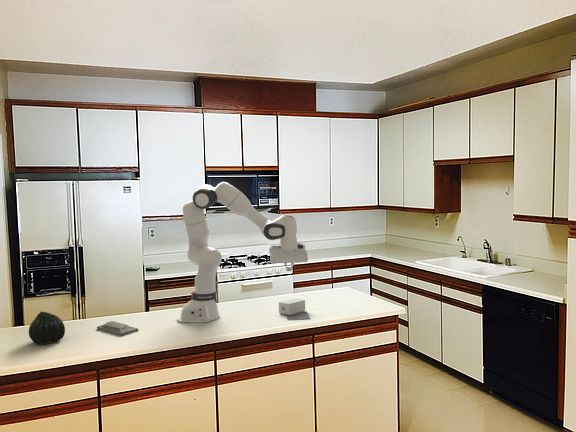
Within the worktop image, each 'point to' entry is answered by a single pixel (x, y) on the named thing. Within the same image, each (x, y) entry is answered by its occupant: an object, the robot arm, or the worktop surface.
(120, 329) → the soap mold
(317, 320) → the worktop surface
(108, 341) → the worktop surface
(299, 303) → the small box
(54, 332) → the squash
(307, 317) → the mat
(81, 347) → the worktop surface
